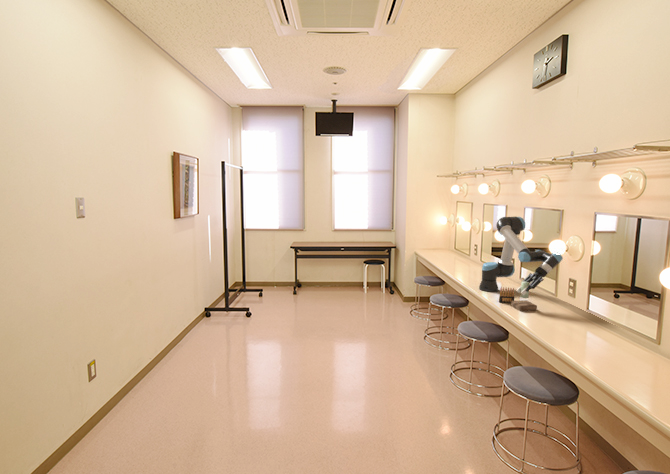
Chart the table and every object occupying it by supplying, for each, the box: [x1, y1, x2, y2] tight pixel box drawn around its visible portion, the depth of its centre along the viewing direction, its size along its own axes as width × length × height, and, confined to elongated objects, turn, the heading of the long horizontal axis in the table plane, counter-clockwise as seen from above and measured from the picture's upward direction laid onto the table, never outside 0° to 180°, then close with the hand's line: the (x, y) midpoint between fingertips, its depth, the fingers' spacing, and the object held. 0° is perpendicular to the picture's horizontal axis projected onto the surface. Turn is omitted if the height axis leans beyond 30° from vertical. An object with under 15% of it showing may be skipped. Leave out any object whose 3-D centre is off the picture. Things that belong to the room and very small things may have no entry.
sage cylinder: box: [520, 280, 530, 299], centre depth 257 cm, size 5×5×11 cm
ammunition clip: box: [498, 286, 515, 304], centre depth 272 cm, size 11×2×12 cm, turn 82°
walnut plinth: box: [510, 300, 538, 312], centre depth 259 cm, size 12×12×4 cm
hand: (519, 292), depth 257 cm, fingers closed on sage cylinder, 5 cm apart
